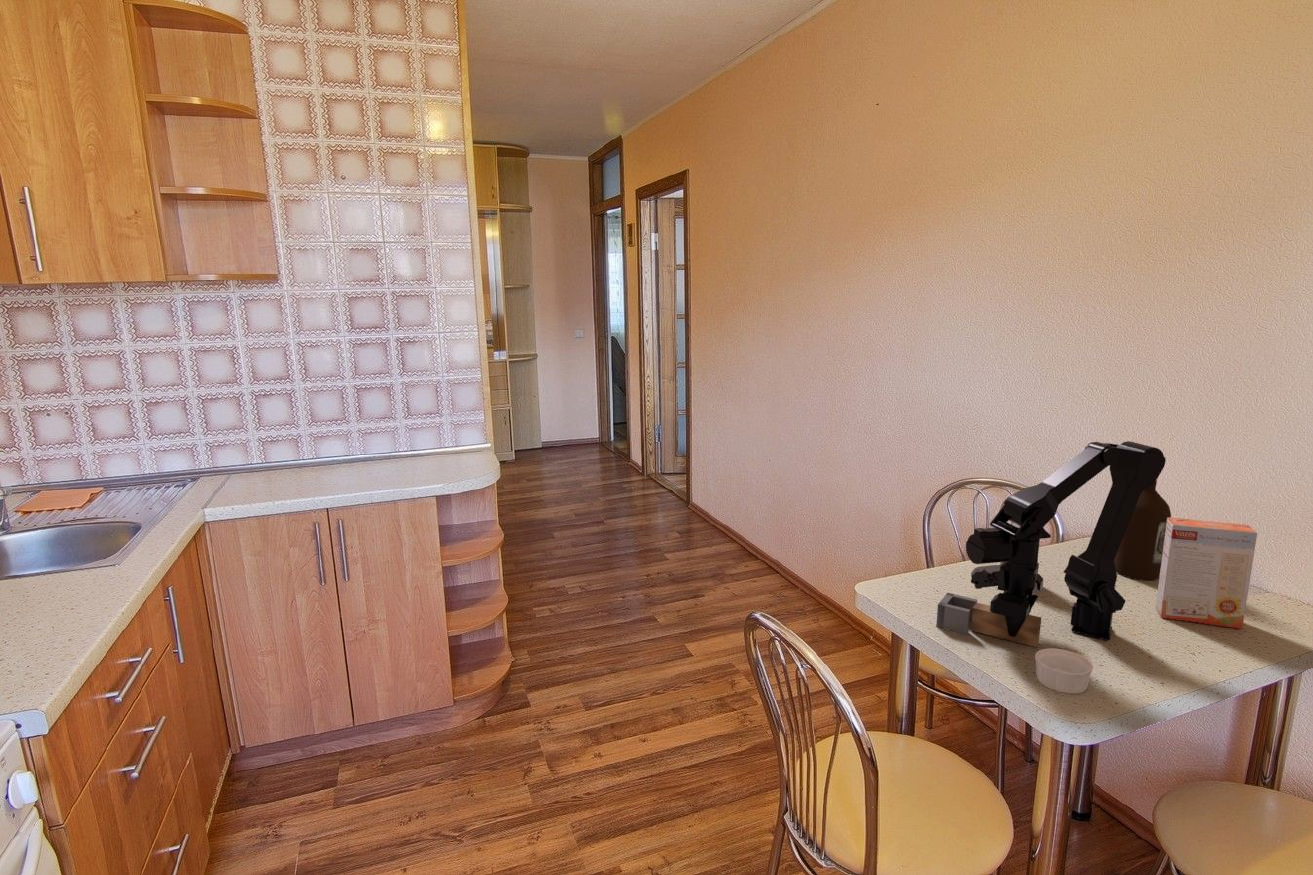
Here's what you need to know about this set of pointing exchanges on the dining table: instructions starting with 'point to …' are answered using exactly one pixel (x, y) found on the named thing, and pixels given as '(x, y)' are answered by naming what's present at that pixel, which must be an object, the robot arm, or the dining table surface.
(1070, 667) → the ramekin
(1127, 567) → the olive oil
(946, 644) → the dining table surface
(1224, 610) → the cracker box
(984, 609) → the slat
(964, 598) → the end cap
